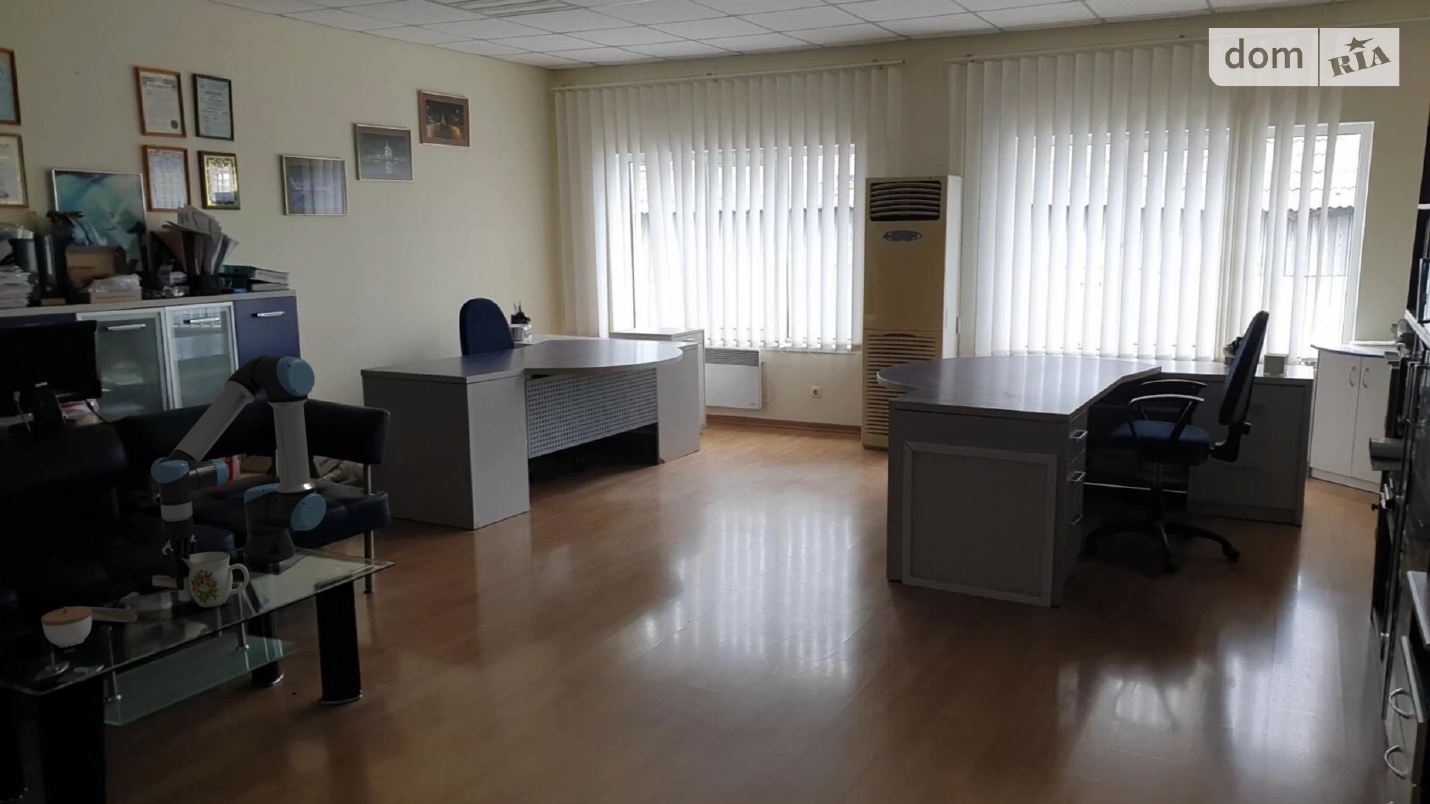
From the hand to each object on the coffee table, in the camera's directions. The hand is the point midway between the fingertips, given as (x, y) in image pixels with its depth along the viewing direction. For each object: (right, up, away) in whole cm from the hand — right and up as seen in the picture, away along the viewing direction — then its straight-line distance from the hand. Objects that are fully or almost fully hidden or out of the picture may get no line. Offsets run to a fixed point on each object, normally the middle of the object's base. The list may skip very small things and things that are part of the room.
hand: (185, 599), depth 281 cm
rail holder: (-13, -1, +3) cm, 13 cm away
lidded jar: (-16, -6, -24) cm, 30 cm away
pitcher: (+8, -1, +2) cm, 8 cm away
